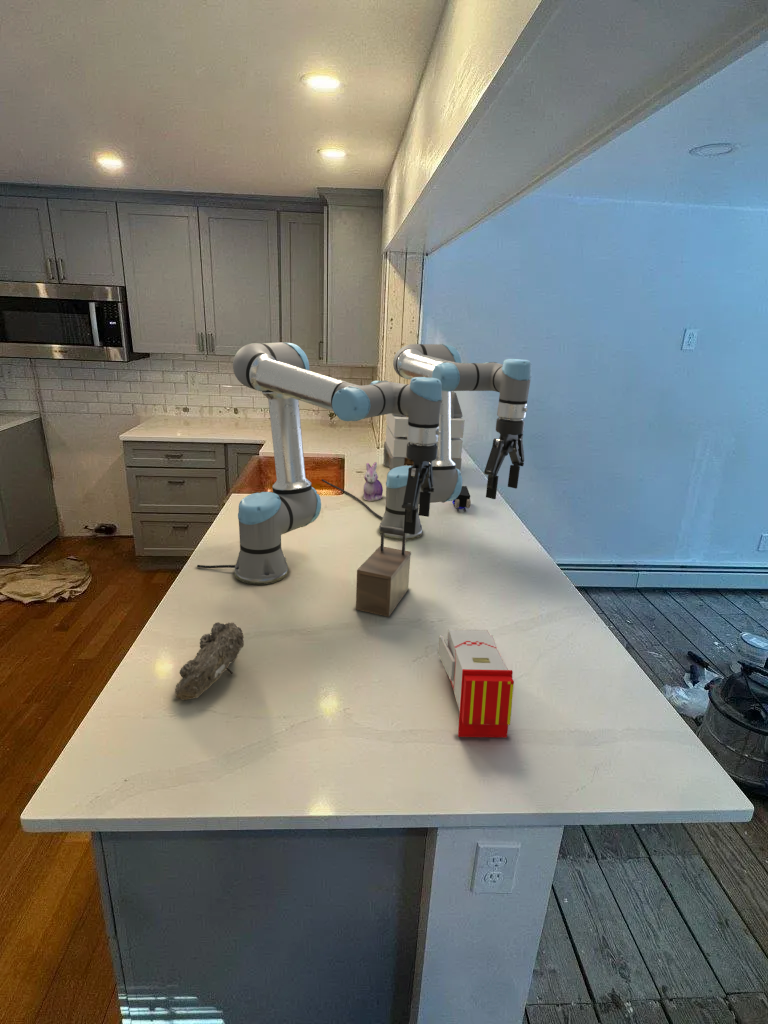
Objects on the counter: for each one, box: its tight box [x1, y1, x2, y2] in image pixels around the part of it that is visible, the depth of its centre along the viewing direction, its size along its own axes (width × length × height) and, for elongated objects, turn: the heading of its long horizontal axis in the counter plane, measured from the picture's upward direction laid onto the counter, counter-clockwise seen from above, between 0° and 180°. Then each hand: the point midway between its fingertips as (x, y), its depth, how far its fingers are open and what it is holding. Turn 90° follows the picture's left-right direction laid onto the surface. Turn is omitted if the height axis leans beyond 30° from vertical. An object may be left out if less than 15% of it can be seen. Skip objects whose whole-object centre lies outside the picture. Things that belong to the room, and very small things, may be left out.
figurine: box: [362, 461, 384, 502], centre depth 233 cm, size 9×10×15 cm
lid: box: [356, 525, 412, 580], centre depth 150 cm, size 17×9×8 cm, turn 160°
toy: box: [437, 628, 515, 738], centre depth 117 cm, size 12×13×30 cm
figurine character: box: [451, 485, 472, 513], centre depth 228 cm, size 7×8×15 cm
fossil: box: [174, 621, 245, 701], centre depth 119 cm, size 22×10×15 cm
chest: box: [355, 556, 411, 618], centre depth 153 cm, size 17×9×10 cm, turn 160°
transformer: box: [383, 391, 465, 472], centre depth 268 cm, size 34×33×41 cm
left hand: (416, 524), depth 145 cm, fingers open, 13 cm apart
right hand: (501, 492), depth 161 cm, fingers open, 13 cm apart
